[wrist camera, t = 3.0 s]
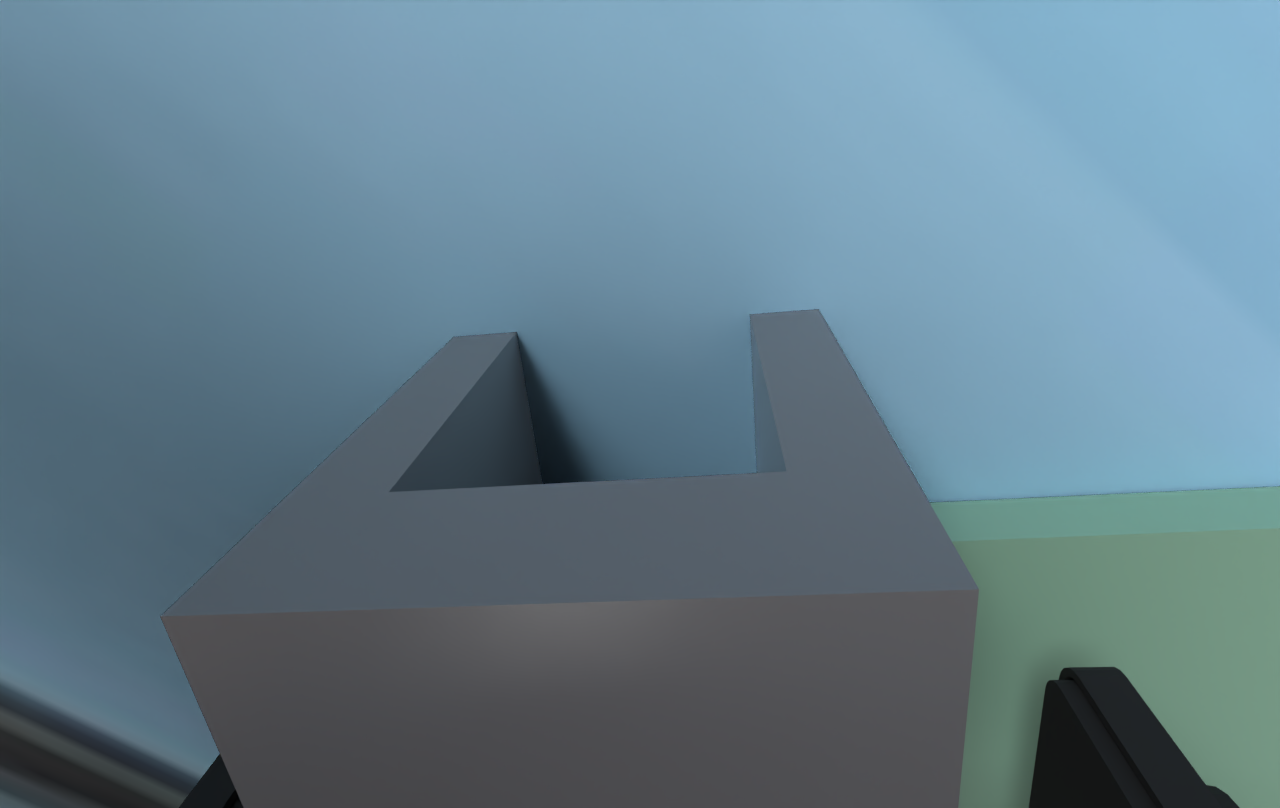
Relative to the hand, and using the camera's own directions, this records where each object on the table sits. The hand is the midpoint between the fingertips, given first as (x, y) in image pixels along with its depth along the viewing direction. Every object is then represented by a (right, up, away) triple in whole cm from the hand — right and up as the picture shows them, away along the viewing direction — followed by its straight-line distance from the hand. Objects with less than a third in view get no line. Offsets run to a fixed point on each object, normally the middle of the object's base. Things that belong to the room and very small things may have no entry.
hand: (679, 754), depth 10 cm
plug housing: (0, +1, +2) cm, 2 cm away
